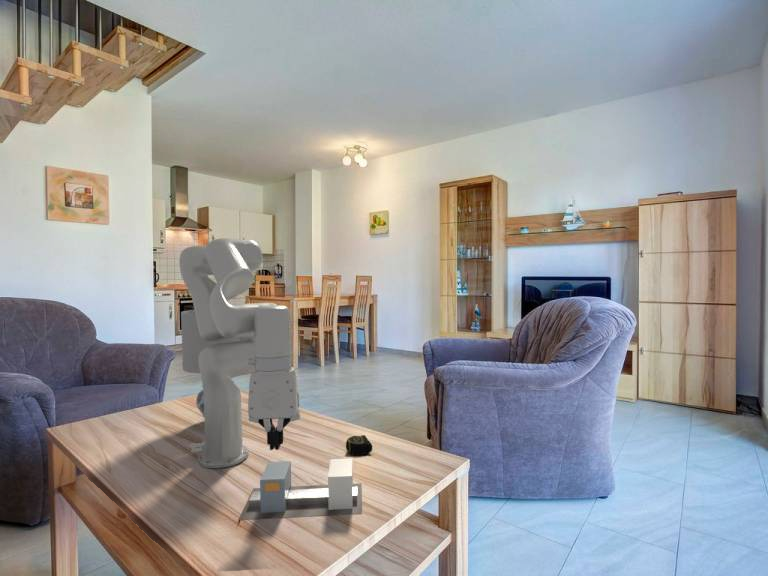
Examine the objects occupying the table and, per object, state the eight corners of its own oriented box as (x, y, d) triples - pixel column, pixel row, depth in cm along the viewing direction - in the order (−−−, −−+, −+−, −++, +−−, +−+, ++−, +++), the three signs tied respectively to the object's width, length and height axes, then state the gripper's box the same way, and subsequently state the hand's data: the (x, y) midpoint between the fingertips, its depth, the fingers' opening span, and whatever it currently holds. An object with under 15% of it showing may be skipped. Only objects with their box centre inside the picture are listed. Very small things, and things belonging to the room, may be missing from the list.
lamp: (183, 416, 144) (180, 309, 143) (246, 406, 154) (243, 306, 153) (186, 438, 125) (182, 315, 124) (257, 425, 135) (254, 311, 134)
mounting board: (238, 524, 82) (238, 519, 82) (253, 492, 94) (253, 488, 94) (362, 518, 83) (362, 513, 83) (361, 487, 95) (361, 483, 95)
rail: (248, 507, 86) (248, 500, 86) (253, 498, 90) (252, 491, 90) (357, 502, 88) (357, 495, 88) (357, 493, 91) (357, 486, 91)
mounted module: (328, 509, 85) (328, 477, 85) (331, 489, 93) (330, 459, 93) (352, 508, 85) (352, 475, 85) (352, 488, 93) (352, 458, 93)
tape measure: (373, 455, 112) (373, 442, 112) (348, 459, 110) (348, 445, 110) (366, 445, 119) (366, 433, 119) (343, 449, 117) (343, 436, 116)
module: (260, 513, 84) (259, 480, 84) (269, 492, 92) (268, 461, 92) (285, 512, 84) (284, 479, 84) (291, 491, 92) (290, 460, 92)
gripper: (232, 368, 83) (234, 456, 84) (306, 366, 84) (308, 453, 84) (242, 360, 90) (244, 441, 91) (310, 358, 91) (312, 438, 92)
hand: (275, 447), depth 88 cm, fingers closed
